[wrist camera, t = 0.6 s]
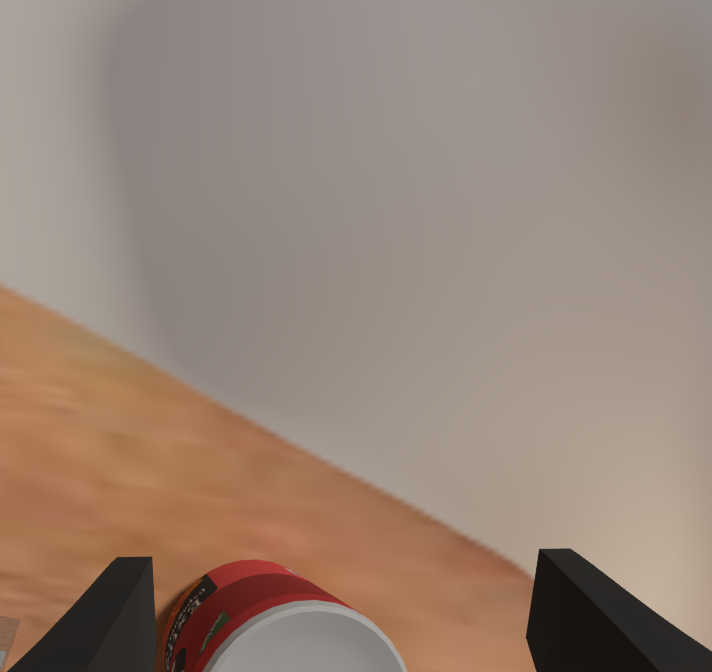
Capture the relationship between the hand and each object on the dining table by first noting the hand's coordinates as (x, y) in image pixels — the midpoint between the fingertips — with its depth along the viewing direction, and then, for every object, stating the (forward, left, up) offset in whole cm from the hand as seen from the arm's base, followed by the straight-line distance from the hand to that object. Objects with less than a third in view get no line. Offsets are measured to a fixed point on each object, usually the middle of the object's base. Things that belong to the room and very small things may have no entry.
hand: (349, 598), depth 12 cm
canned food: (-3, -6, -22) cm, 23 cm away
